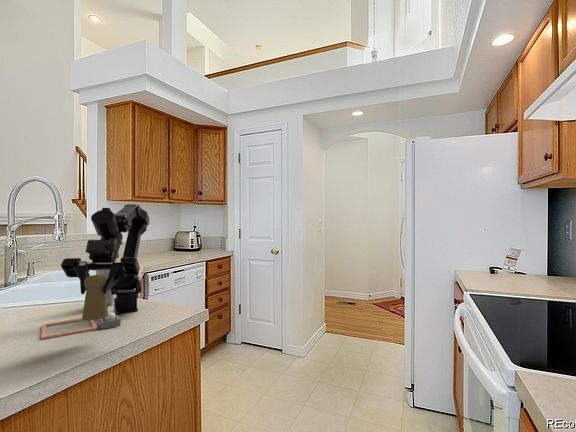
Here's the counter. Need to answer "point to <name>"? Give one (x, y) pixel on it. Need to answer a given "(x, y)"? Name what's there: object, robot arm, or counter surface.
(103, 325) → the button box
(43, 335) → the terracotta outline
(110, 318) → the button
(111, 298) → the energy drink can
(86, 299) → the olive pepper mill
